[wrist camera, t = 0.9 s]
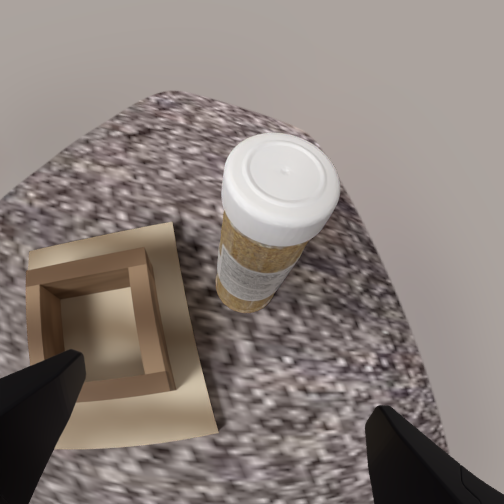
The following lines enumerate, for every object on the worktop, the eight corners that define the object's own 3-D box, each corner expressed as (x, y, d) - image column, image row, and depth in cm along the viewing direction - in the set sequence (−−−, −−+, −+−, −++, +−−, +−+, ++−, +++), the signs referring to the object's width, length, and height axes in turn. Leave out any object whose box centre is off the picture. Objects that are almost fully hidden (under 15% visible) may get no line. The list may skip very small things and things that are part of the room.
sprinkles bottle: (241, 246, 24) (274, 113, 12) (286, 283, 24) (362, 173, 12) (201, 287, 23) (197, 169, 11) (248, 328, 22) (301, 249, 10)
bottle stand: (218, 431, 18) (220, 442, 15) (53, 447, 16) (25, 455, 12) (173, 226, 24) (167, 196, 20) (33, 255, 21) (9, 232, 18)
